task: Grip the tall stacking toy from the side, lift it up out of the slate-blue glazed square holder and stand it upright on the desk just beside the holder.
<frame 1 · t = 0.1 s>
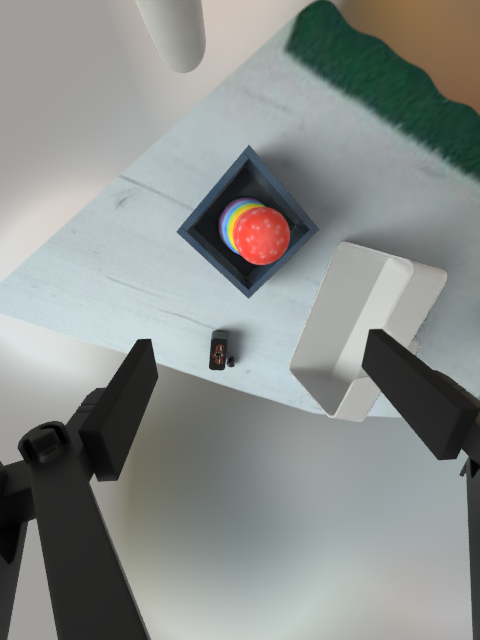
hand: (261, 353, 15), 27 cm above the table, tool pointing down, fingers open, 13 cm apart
stacking toy: (244, 226, 38), resting in square holder
square holder: (244, 226, 38), on the table
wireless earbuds: (222, 348, 47), on the table
tank: (350, 320, 46), on the table
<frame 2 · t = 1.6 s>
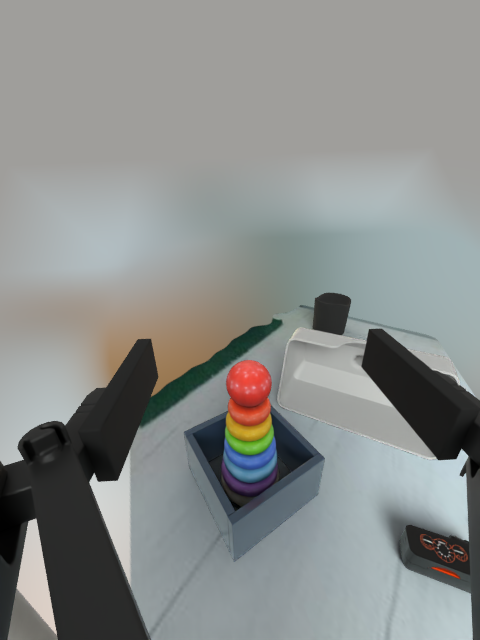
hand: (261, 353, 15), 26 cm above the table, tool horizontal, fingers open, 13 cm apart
stacking toy: (250, 480, 35), resting in square holder
square holder: (250, 479, 35), on the table
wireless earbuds: (439, 562, 27), on the table
pen holder: (328, 331, 74), on the table
tank: (352, 401, 48), on the table
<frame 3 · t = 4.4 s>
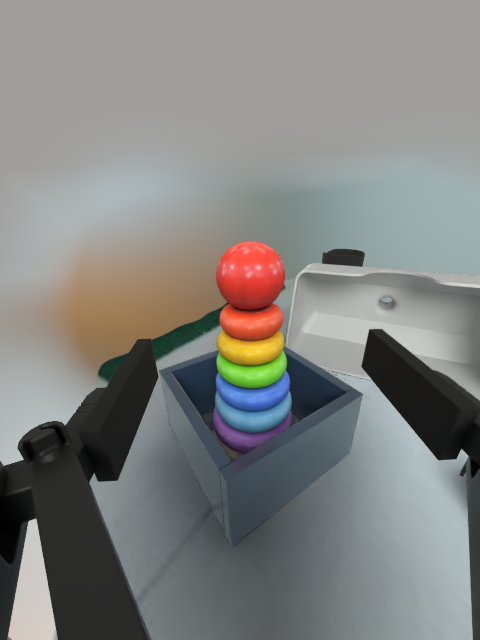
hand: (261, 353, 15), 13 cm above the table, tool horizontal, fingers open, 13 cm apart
stacking toy: (253, 439, 25), resting in square holder
square holder: (253, 437, 25), on the table
pen holder: (337, 292, 65), on the table
tank: (377, 352, 39), on the table
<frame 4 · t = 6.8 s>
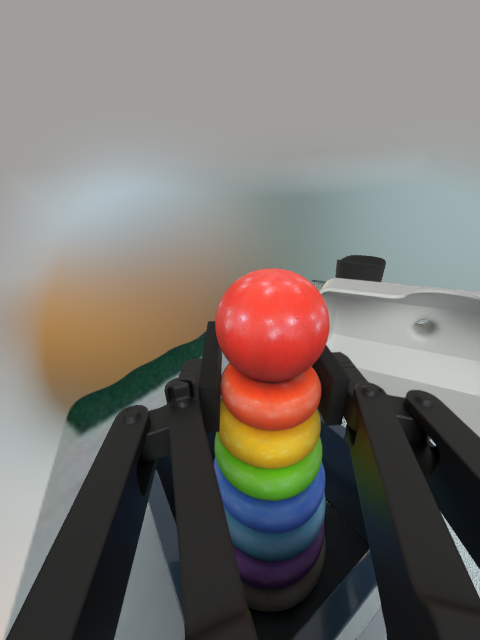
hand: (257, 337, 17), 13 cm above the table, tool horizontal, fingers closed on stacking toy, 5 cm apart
stacking toy: (265, 536, 18), resting in square holder, touching gripper
square holder: (265, 535, 18), on the table
pen holder: (353, 304, 58), on the table
tank: (414, 388, 32), on the table
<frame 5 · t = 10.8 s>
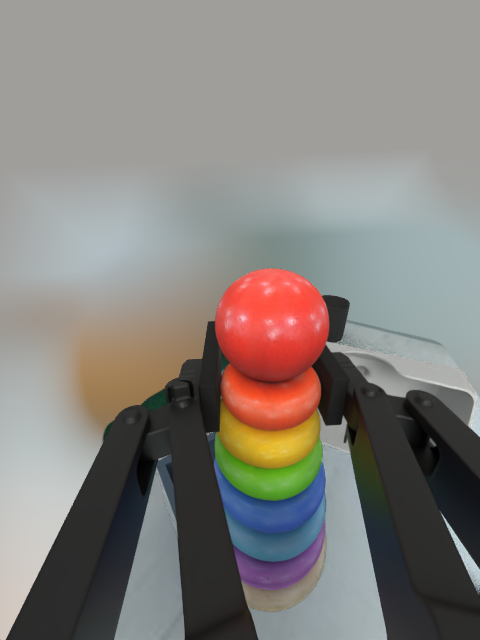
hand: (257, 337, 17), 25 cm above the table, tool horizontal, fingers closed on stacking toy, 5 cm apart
stacking toy: (265, 536, 18), point 12 cm above the table, touching gripper
square holder: (234, 516, 30), on the table
pen holder: (325, 336, 70), on the table
tank: (352, 416, 43), on the table
when the fingers open (13 cm above the table, at t = 15.1 s): stacking toy stays where it is, on the table.
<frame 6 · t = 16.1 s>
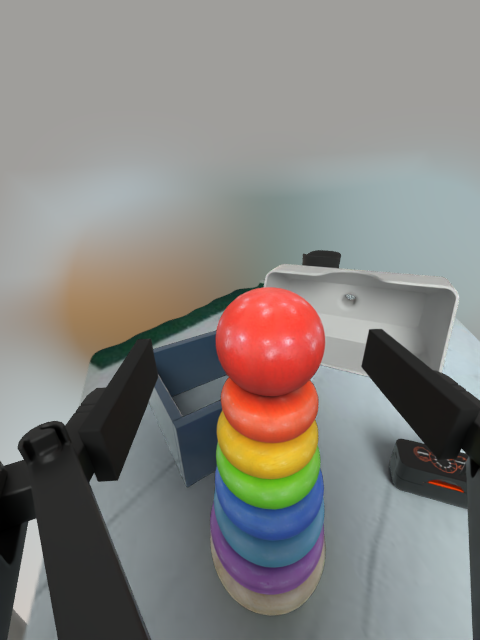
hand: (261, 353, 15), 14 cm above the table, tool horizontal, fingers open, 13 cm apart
stacking toy: (266, 541, 18), on the table
square holder: (217, 411, 30), on the table
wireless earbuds: (438, 483, 22), on the table
pen holder: (317, 291, 70), on the table
tank: (340, 344, 44), on the table
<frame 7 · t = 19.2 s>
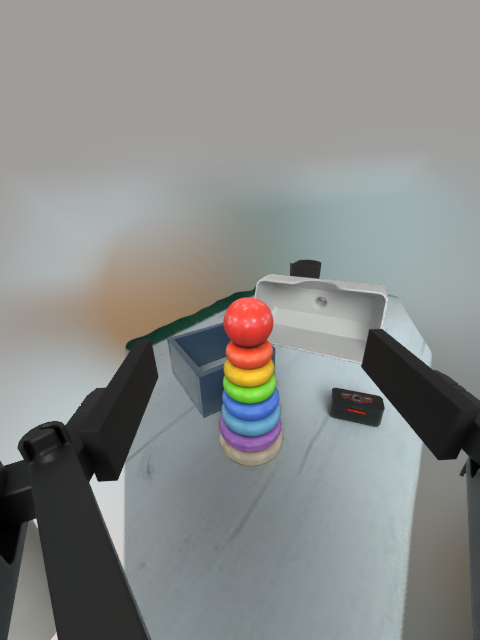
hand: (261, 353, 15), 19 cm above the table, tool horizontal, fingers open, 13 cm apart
stacking toy: (251, 441, 32), on the table
square holder: (221, 378, 44), on the table
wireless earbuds: (358, 415, 36), on the table
pen holder: (303, 293, 83), on the table
tank: (313, 335, 57), on the table
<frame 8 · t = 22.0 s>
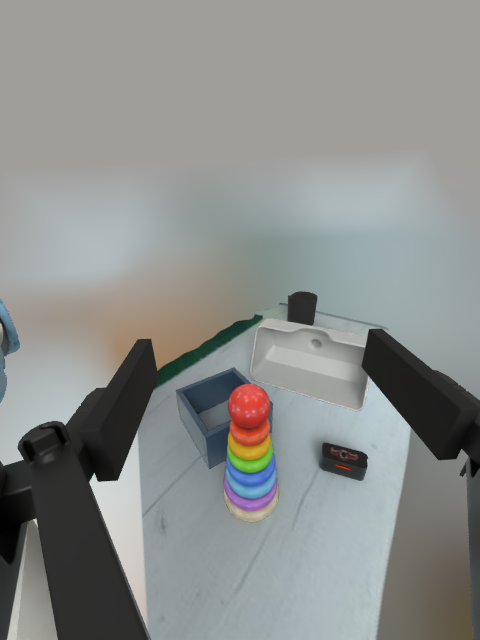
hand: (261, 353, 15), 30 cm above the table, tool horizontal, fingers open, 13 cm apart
stacking toy: (251, 494, 37), on the table
square holder: (224, 425, 48), on the table
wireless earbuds: (345, 467, 40), on the table
pen holder: (300, 323, 88), on the table
tank: (309, 374, 62), on the table
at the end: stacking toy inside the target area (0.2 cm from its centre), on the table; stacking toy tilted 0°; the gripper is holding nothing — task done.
